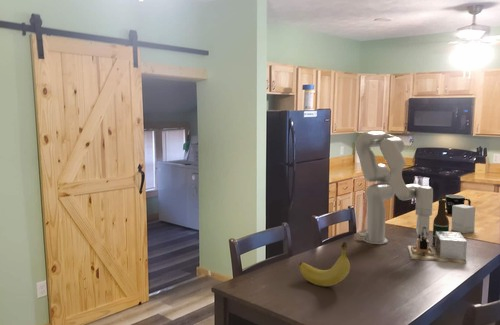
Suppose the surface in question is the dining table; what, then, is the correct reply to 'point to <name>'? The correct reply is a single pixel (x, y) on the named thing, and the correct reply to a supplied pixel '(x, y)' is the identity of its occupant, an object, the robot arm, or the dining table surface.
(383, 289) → the dining table surface
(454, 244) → the cover
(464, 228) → the supplement box
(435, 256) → the housing base
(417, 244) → the jaw block
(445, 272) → the dining table surface
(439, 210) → the beer bottle
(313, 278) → the banana
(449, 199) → the mug
